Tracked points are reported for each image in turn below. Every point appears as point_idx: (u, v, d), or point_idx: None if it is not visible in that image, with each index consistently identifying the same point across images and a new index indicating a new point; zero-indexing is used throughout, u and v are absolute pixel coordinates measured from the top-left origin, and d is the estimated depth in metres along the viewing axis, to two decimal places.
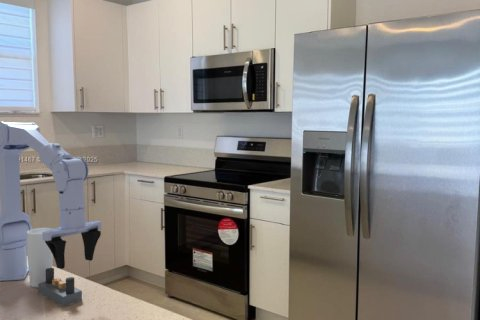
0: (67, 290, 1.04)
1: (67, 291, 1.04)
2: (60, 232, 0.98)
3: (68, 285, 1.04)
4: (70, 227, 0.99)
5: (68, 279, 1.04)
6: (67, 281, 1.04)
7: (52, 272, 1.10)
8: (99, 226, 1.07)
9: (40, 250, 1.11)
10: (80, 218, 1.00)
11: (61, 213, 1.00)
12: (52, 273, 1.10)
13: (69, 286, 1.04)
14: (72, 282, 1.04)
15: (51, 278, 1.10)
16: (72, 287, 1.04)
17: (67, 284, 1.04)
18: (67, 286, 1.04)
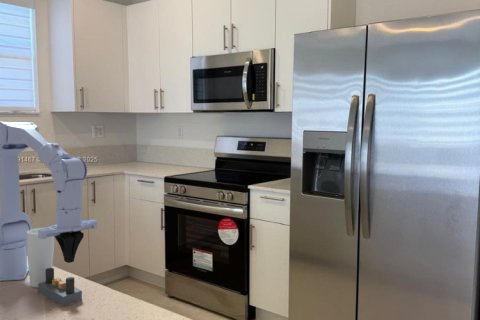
0: (67, 290, 1.04)
1: (67, 291, 1.04)
2: (55, 231, 0.99)
3: (68, 285, 1.04)
4: (65, 226, 1.01)
5: (68, 279, 1.04)
6: (67, 281, 1.04)
7: (52, 272, 1.10)
8: (95, 225, 1.08)
9: (40, 250, 1.11)
10: (75, 218, 1.02)
11: (57, 212, 1.01)
12: (52, 273, 1.10)
13: (69, 286, 1.04)
14: (72, 282, 1.04)
15: (51, 278, 1.10)
16: (72, 287, 1.04)
17: (67, 284, 1.04)
18: (67, 286, 1.04)
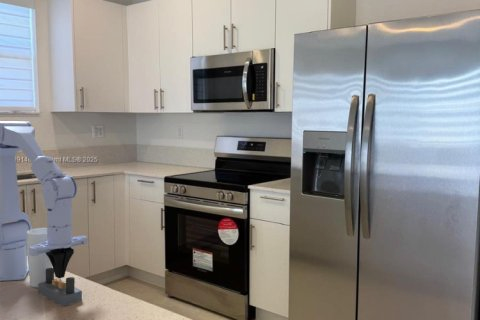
0: (67, 290, 1.04)
1: (67, 291, 1.04)
2: (46, 248, 1.02)
3: (68, 285, 1.04)
4: (56, 243, 1.04)
5: (68, 279, 1.04)
6: (67, 281, 1.04)
7: (52, 272, 1.10)
8: (85, 241, 1.11)
9: None
10: (66, 235, 1.05)
11: (48, 229, 1.04)
12: (52, 273, 1.10)
13: (69, 286, 1.04)
14: (72, 282, 1.04)
15: (51, 278, 1.10)
16: (72, 287, 1.04)
17: (67, 284, 1.04)
18: (67, 286, 1.04)
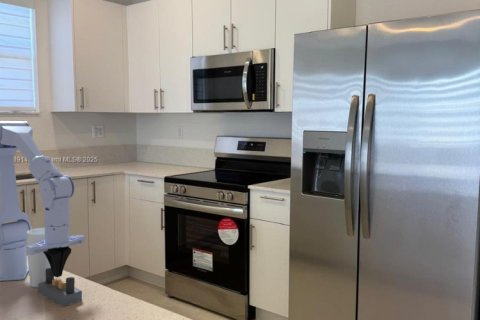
0: (67, 290, 1.04)
1: (67, 291, 1.04)
2: (43, 247, 1.03)
3: (68, 285, 1.04)
4: (53, 242, 1.04)
5: (68, 279, 1.04)
6: (67, 281, 1.04)
7: None
8: (82, 240, 1.12)
9: None
10: (63, 234, 1.05)
11: (46, 228, 1.05)
12: None
13: (69, 286, 1.04)
14: (72, 282, 1.04)
15: (51, 278, 1.10)
16: (72, 287, 1.04)
17: (67, 284, 1.04)
18: (67, 286, 1.04)
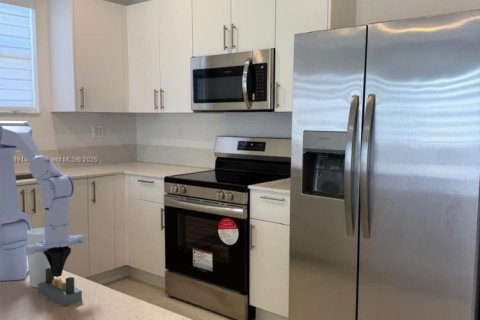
0: (67, 290, 1.04)
1: (67, 291, 1.04)
2: (43, 247, 1.03)
3: (68, 285, 1.04)
4: (53, 242, 1.04)
5: (68, 279, 1.04)
6: (67, 281, 1.03)
7: None
8: (82, 240, 1.12)
9: None
10: (63, 234, 1.05)
11: (45, 228, 1.05)
12: None
13: (69, 286, 1.04)
14: (72, 282, 1.04)
15: (51, 278, 1.10)
16: (72, 287, 1.04)
17: (67, 284, 1.04)
18: (67, 286, 1.04)
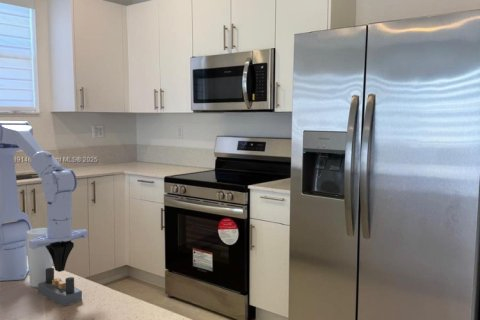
0: (67, 290, 1.04)
1: (67, 291, 1.04)
2: (46, 241, 1.02)
3: (68, 285, 1.04)
4: (56, 237, 1.04)
5: (68, 279, 1.04)
6: (67, 281, 1.04)
7: (52, 272, 1.10)
8: (85, 235, 1.11)
9: (40, 250, 1.11)
10: (66, 228, 1.05)
11: (48, 222, 1.04)
12: (52, 273, 1.10)
13: (69, 286, 1.04)
14: (72, 282, 1.04)
15: (51, 278, 1.10)
16: (72, 287, 1.04)
17: (67, 284, 1.04)
18: (67, 286, 1.04)
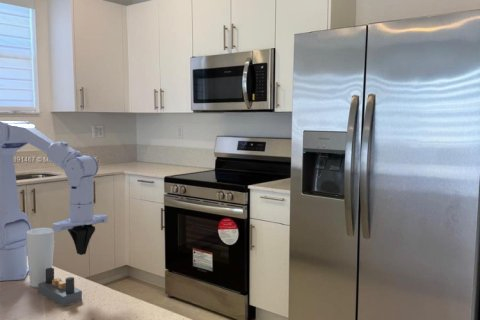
0: (67, 290, 1.04)
1: (67, 291, 1.04)
2: (69, 224, 1.05)
3: (68, 285, 1.04)
4: (78, 220, 1.06)
5: (68, 279, 1.04)
6: (67, 281, 1.04)
7: (52, 272, 1.10)
8: (105, 219, 1.14)
9: (40, 250, 1.11)
10: (88, 212, 1.07)
11: (71, 206, 1.07)
12: (52, 273, 1.10)
13: (69, 286, 1.04)
14: (72, 282, 1.04)
15: (51, 278, 1.10)
16: (72, 287, 1.04)
17: (67, 284, 1.04)
18: (67, 286, 1.04)
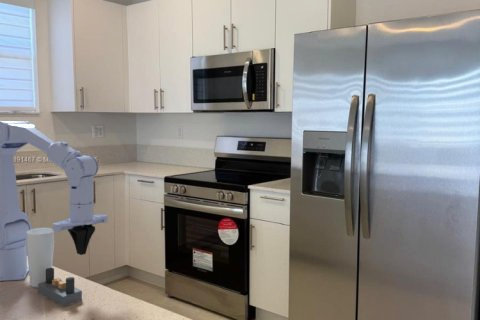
0: (67, 290, 1.04)
1: (67, 291, 1.04)
2: (69, 224, 1.05)
3: (68, 285, 1.04)
4: (78, 220, 1.06)
5: (68, 279, 1.04)
6: (67, 281, 1.04)
7: (52, 272, 1.10)
8: (105, 219, 1.14)
9: (40, 250, 1.11)
10: (88, 212, 1.07)
11: (71, 206, 1.07)
12: (52, 273, 1.10)
13: (69, 286, 1.04)
14: (72, 282, 1.04)
15: (51, 278, 1.10)
16: (72, 287, 1.04)
17: (67, 284, 1.04)
18: (67, 286, 1.04)
